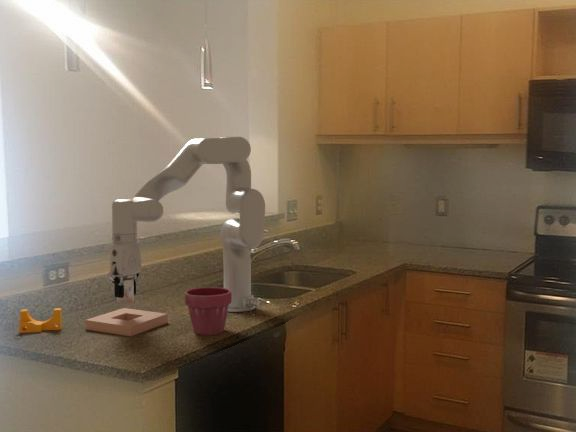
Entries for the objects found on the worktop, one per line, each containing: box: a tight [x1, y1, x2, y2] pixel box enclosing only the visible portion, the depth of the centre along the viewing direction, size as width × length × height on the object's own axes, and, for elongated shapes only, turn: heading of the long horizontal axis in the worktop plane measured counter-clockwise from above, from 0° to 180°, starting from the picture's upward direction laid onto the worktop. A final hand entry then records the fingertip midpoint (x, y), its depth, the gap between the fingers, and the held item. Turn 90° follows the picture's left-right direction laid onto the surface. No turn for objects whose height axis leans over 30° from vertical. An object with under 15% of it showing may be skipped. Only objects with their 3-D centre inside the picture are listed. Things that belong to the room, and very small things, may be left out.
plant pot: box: [184, 286, 232, 336], centre depth 216 cm, size 14×14×13 cm
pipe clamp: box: [18, 307, 63, 334], centre depth 218 cm, size 12×4×6 cm, turn 99°
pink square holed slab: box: [84, 307, 168, 337], centre depth 223 cm, size 18×18×3 cm
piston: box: [116, 274, 135, 304], centre depth 222 cm, size 5×5×9 cm
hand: (125, 295), depth 222 cm, fingers closed on piston, 5 cm apart
